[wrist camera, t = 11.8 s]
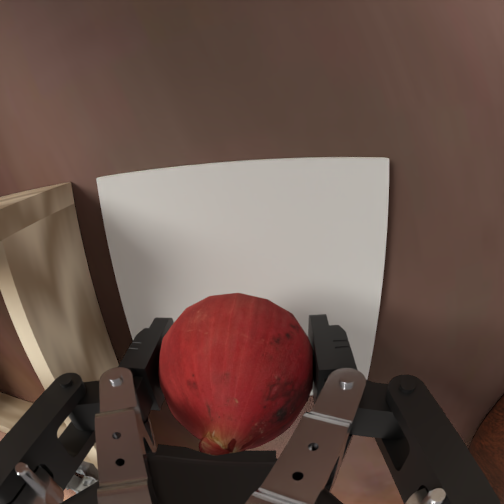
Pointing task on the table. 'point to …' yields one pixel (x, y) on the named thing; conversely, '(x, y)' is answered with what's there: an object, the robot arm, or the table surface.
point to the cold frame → (50, 294)
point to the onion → (235, 371)
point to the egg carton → (89, 477)
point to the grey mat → (253, 239)
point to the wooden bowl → (491, 448)
